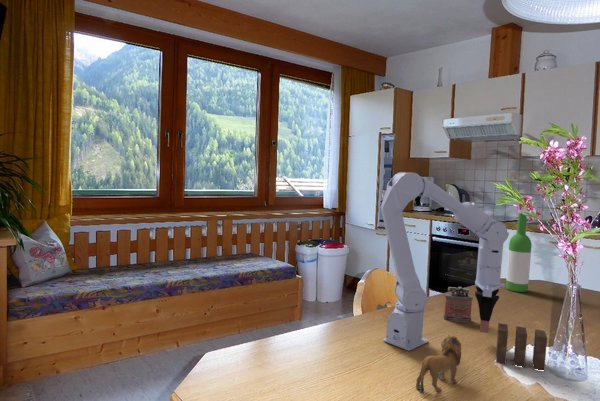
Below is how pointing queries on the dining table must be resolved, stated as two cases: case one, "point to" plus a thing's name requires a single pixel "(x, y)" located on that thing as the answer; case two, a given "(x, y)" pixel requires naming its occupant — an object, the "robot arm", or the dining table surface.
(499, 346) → the walnut domino
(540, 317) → the dining table surface
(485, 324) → the brick red domino
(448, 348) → the lion figurine
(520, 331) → the walnut domino
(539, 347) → the walnut domino
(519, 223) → the wine bottle
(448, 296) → the lighter
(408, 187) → the robot arm
